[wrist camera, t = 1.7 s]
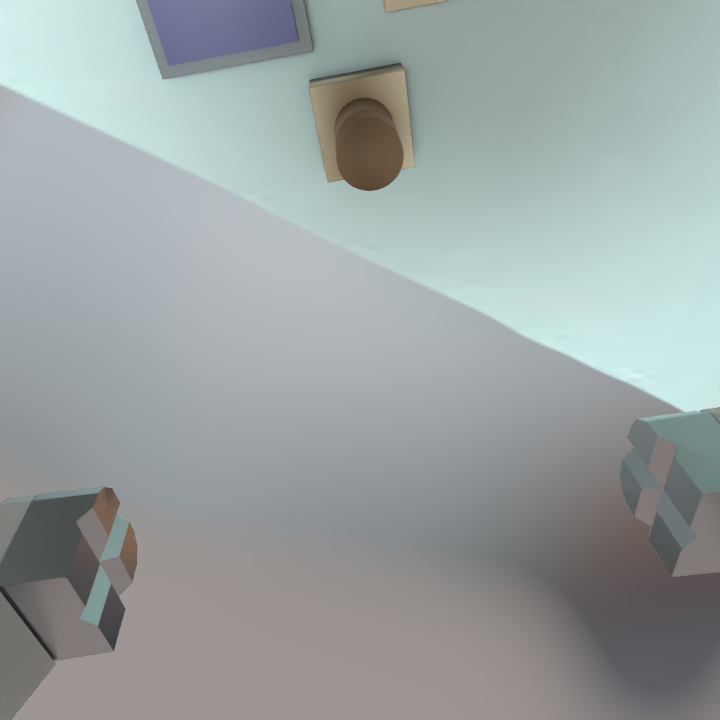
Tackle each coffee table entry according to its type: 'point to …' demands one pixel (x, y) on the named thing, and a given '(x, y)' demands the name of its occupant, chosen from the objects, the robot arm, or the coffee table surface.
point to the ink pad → (223, 32)
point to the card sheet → (406, 4)
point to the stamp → (364, 125)
